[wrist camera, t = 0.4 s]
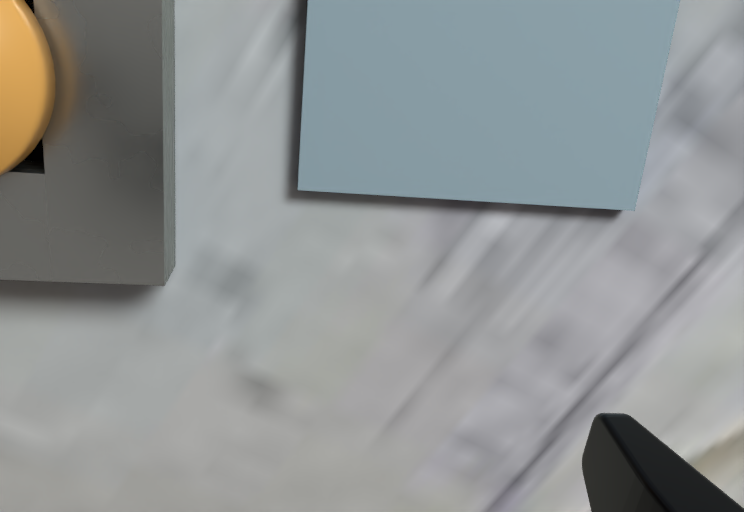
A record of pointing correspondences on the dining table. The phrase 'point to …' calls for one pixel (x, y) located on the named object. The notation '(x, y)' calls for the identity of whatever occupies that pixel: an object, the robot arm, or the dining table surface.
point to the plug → (23, 83)
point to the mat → (483, 98)
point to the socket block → (99, 151)
